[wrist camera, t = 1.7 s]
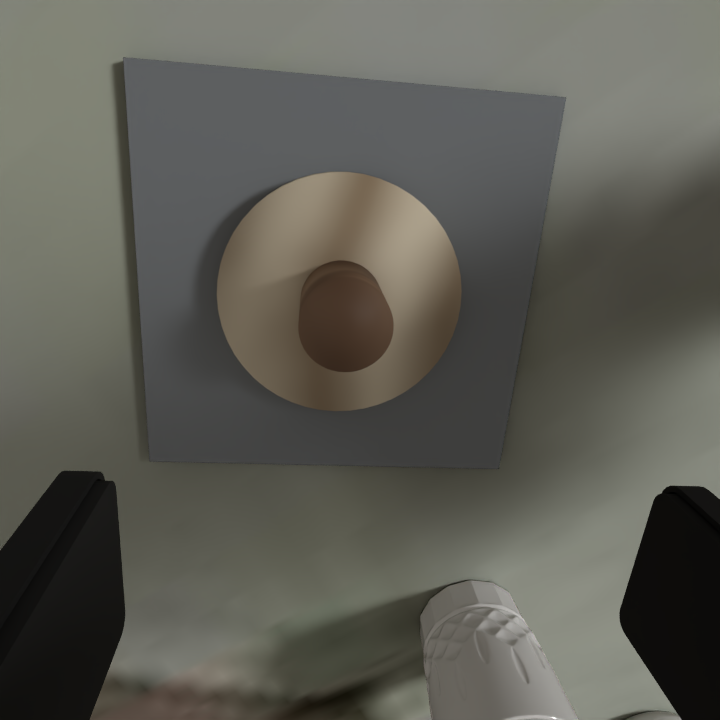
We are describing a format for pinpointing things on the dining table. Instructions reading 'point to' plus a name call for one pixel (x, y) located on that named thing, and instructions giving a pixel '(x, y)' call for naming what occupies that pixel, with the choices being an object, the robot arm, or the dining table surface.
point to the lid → (339, 291)
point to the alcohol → (655, 716)
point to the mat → (306, 157)
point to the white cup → (486, 659)
